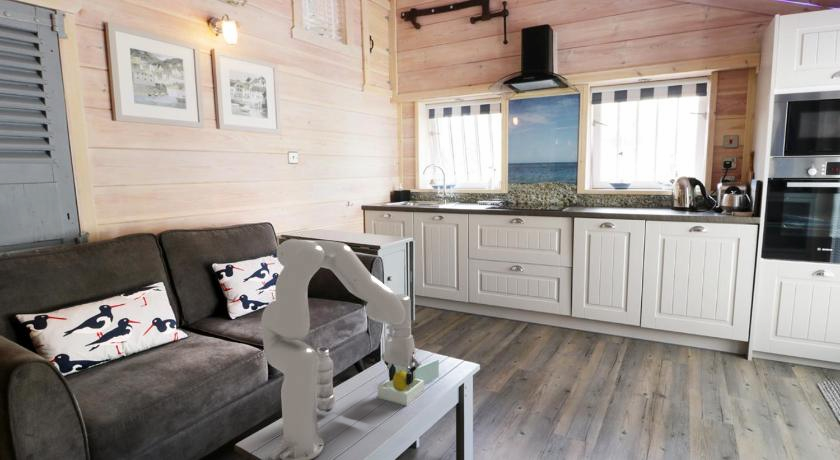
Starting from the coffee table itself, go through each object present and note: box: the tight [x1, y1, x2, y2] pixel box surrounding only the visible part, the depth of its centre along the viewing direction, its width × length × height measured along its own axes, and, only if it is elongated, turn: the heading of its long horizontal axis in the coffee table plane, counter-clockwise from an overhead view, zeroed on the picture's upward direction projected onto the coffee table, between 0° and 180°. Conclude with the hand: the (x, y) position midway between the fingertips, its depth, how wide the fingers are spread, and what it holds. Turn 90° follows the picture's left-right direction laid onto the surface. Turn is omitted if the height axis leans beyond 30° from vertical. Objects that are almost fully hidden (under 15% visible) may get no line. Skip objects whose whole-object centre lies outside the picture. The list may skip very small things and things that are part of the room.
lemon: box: [393, 370, 408, 392], centre depth 156 cm, size 6×6×8 cm
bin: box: [377, 378, 425, 407], centre depth 157 cm, size 12×12×4 cm
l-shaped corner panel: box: [394, 358, 440, 385], centre depth 169 cm, size 12×12×8 cm
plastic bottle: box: [316, 347, 336, 411], centre depth 147 cm, size 6×7×20 cm
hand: (401, 380), depth 156 cm, fingers open, 6 cm apart
